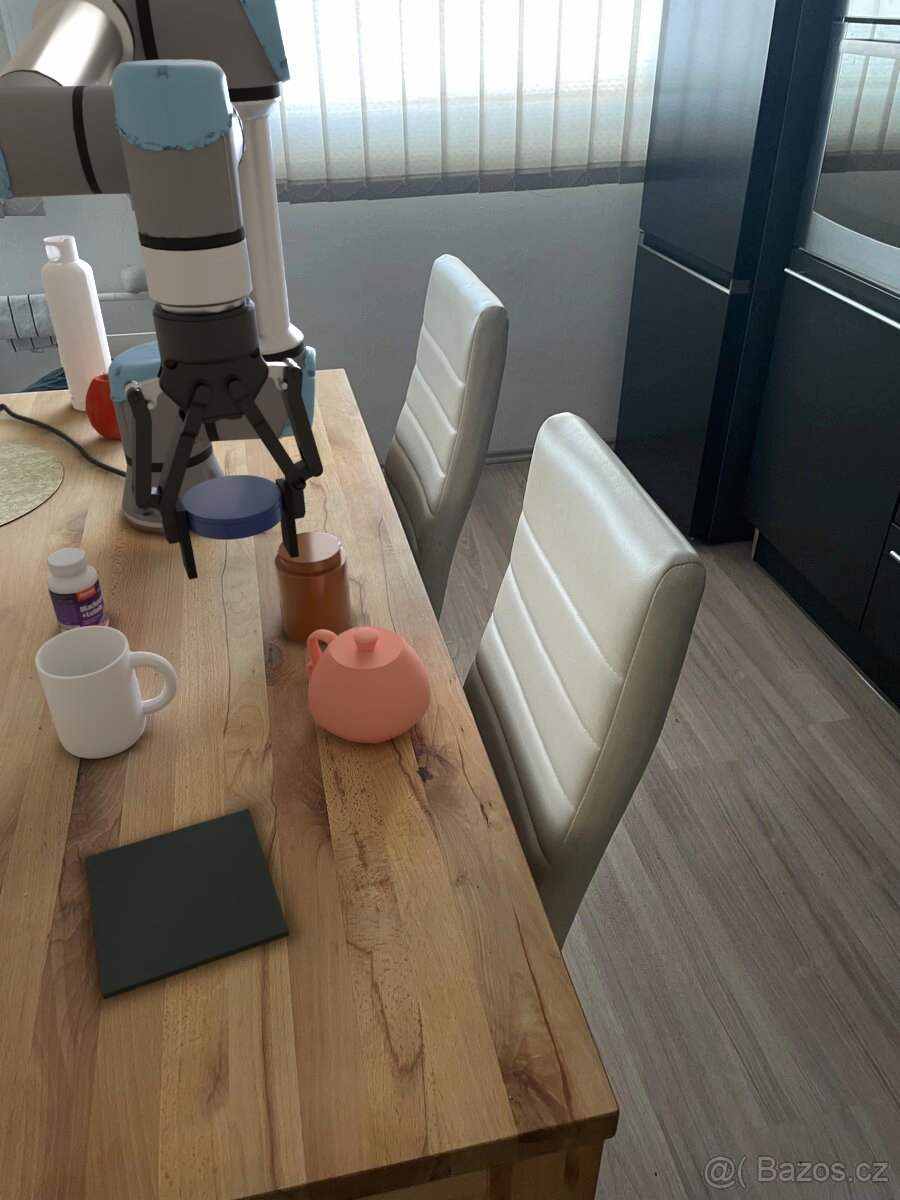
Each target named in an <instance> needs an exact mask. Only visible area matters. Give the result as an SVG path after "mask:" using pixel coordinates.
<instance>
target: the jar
mask: <svg viewBox="0 0 900 1200" xmlns="http://www.w3.org/2000/svg"><path fill="white" fill-rule="evenodd" d="M297 541H298V550H299V557H294V558H291V557H290V555H289V554H288V552H287V550H286V548H285V547H284V545H283V541H281V543H280V544H279V546H278V550H277V554H276V555H275V558H274V569H275V576H276V577H275V578H276V584H277V593H278V601H279V607H280V615H281V623H282V624H281V625H282V629H283V630H282V631H283V632H284V635H285V636H287V637H288V639H290V640H291V641H294V642H297V643H300V644H305V645H307V640H308V637H309V636H310V635H311V634H312V633H313V632H315V631H317V630H321V629H324V630H329V631H331V632H333V633H335V634H336V635H337V636H338V635H339V634H341V633H343V632H345V631H347V630H349V629H351V626H352V625H353V619H352V618H353V617H352V605H351V592H350V580H349V567H348V566H349V565H348V556H347V552H346V551H345V549H344V548H343V547H342V545H341V541H340V540H339V539H338V538H337V537H336V536H335V535H332V534H330V533H328V532H322V531H304V532H299V533H297ZM318 644H319V645H320V644H321V645H322V644H327V643H326V642H324V641H322V640H319V639H318Z"/></svg>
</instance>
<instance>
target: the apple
mask: <svg viewBox="0 0 900 1200" xmlns="http://www.w3.org/2000/svg"><path fill="white" fill-rule="evenodd" d="M103 374H104V372H103ZM110 394H111V390H110V383H109V377H108V374H104V375H100V376H97V377H95V378H94V379H93V380H92V381H91V383H90V385H89V388H88V391H87V394H86V400H85V402H86V408H85V410H86V411H85V412H86V416H87V419H88V420H89V423H90V425H91V427H92V428H93V430H95V432H96V433H97V434H99V435H100V436H101V437H103V438H104V439H108V440H121V436H120V432H119V427H118V423H117V419H116V414H115V410H114V405H113V401H112V400H111V398H110Z"/></svg>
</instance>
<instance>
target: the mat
mask: <svg viewBox="0 0 900 1200" xmlns="http://www.w3.org/2000/svg"><path fill="white" fill-rule="evenodd" d="M265 858H266V857H265V855H264V852H263V848H262V845H261V842H260V839H259V837H258V834H257V830H256V827H255V824H254V821H253V819H252V815H251V811H250V809H249V808H245V809H242V810H238V811H235V812H232V813H229V814H226V815H222V816H218V817H216V818H211V819H208V820H205V821H202V822H198V823H195V824H192V825H188V826H185V827H182V828H178V829H175V830H171V831H169V832H165V833H162V834H158V835H155V836H152V837H147V838H145V839H142V840H138V841H135V842H131V843H129V844H125V845H122V846H118V847H115V848H111V849H109V850H108V849H107V850H105V851H101V852H98V853H95V854H91V855H88V856H85V864H86V865H85V866H86V873H87V882H88V889H89V899H90V907H91V914H92V922H93V932H94V938H95V946H96V947H95V948H96V955H97V962H98V971H99V976H100V977H99V979H100V986H101V995H102V998H103V1000H108V999H110V998H113V997H116V996H120V995H122V994H124V993H128V992H131V991H133V990H136V989H138V988H142V987H145V986H147V985H151V984H153V983H156V982H159V981H163V980H165V979H167V978H170V977H173V976H176V975H180V974H182V973H185V972H187V971H191V970H194V969H197V968H199V967H202V966H205V965H208V964H210V963H213V962H217V961H220V960H222V959H225V958H229V957H231V956H233V955H236V954H239V953H242V952H245V951H248V950H251V949H254V948H257V947H259V946H262V945H266V944H268V943H271V942H274V941H277V940H280V939H283V938H286V937H288V936H290V931H289V928H288V924H287V922H286V919H285V915H284V912H283V910H282V906H281V904H280V900H279V897H278V894H277V891H276V889H275V885H274V881H273V879H272V876H271V873H270V870H269V867H268V864H267V861H266V859H265Z"/></svg>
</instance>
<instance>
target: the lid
mask: <svg viewBox="0 0 900 1200" xmlns="http://www.w3.org/2000/svg"><path fill="white" fill-rule="evenodd" d="M182 503H183V505H184V508H185V510H186V515H187V520H188V526H189V530H191V531H192V532H191V533H193V534H195V535H197V536H199V537H203V538H207V539H212V540H218V541H219V540H222V541H223V540H224V541H226V540H227V541H229V540H230V541H231V540H240V539H245V538H250V537H254V536H257V535H261V534H264V533H266V532H268V531H269V530H271V529H273V528H275V526H278V524H279V523H280V521H281V519H282V517H283V515H284V508H283V499H282V492H281V489H280V488H279V486H278V485H277V484H276V481H273V480H271V479H269V478H267V477H262V476H257V475H250V474H235V475H225V476H224V477H219V478H214V479H211V480H208V481H205V482H202V483H200V484H198V485H196V486H194V487H193V488H191V489H190V490H189V491H188V492H187V493H186V494H185V495H184V497H183V500H182Z"/></svg>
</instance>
